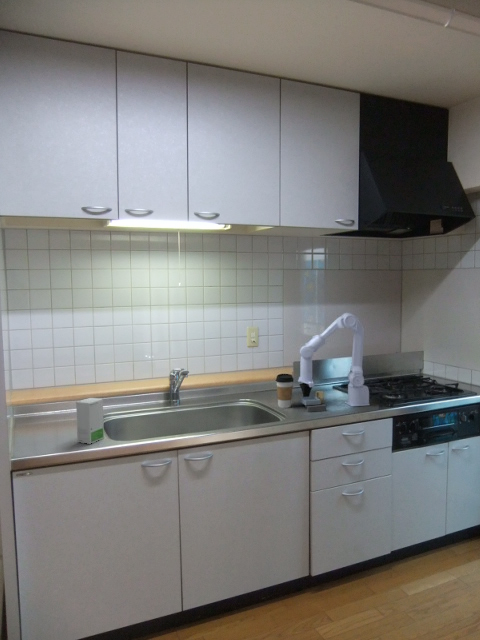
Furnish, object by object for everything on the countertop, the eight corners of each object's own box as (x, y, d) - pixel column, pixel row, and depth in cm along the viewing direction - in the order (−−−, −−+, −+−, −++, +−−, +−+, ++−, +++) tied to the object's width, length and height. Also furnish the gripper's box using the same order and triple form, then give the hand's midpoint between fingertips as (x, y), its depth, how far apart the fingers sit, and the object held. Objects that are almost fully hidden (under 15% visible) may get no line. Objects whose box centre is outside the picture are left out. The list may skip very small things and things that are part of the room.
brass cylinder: (321, 401, 236) (321, 390, 236) (324, 403, 233) (325, 392, 232) (314, 402, 235) (314, 391, 235) (317, 404, 232) (317, 393, 231)
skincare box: (90, 445, 177) (88, 403, 176) (76, 442, 180) (74, 401, 179) (105, 438, 185) (103, 398, 184) (91, 435, 188) (90, 396, 186)
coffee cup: (294, 404, 231) (294, 373, 230) (291, 409, 223) (291, 377, 222) (277, 403, 234) (277, 373, 232) (274, 408, 226) (274, 376, 224)
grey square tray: (314, 403, 233) (314, 396, 232) (320, 407, 225) (320, 399, 225) (299, 404, 231) (299, 397, 230) (305, 408, 223) (305, 401, 223)
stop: (325, 409, 222) (325, 404, 222) (326, 410, 221) (326, 405, 221) (307, 411, 220) (307, 406, 219) (308, 412, 219) (308, 406, 218)
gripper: (293, 368, 237) (293, 395, 238) (304, 374, 223) (304, 402, 224) (306, 367, 239) (306, 394, 240) (318, 373, 225) (318, 401, 226)
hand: (306, 398), depth 232 cm, fingers closed
